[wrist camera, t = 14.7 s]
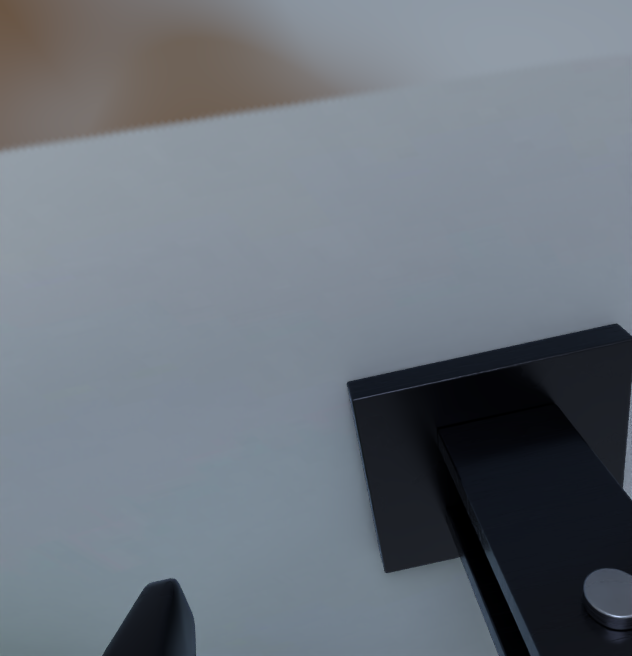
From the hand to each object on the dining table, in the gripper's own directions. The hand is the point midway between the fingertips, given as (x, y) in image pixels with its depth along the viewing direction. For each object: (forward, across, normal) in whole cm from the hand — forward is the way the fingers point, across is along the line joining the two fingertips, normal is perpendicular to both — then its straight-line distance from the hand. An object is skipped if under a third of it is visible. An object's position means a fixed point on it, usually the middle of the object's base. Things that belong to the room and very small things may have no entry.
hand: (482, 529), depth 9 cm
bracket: (+12, -4, +10) cm, 16 cm away
